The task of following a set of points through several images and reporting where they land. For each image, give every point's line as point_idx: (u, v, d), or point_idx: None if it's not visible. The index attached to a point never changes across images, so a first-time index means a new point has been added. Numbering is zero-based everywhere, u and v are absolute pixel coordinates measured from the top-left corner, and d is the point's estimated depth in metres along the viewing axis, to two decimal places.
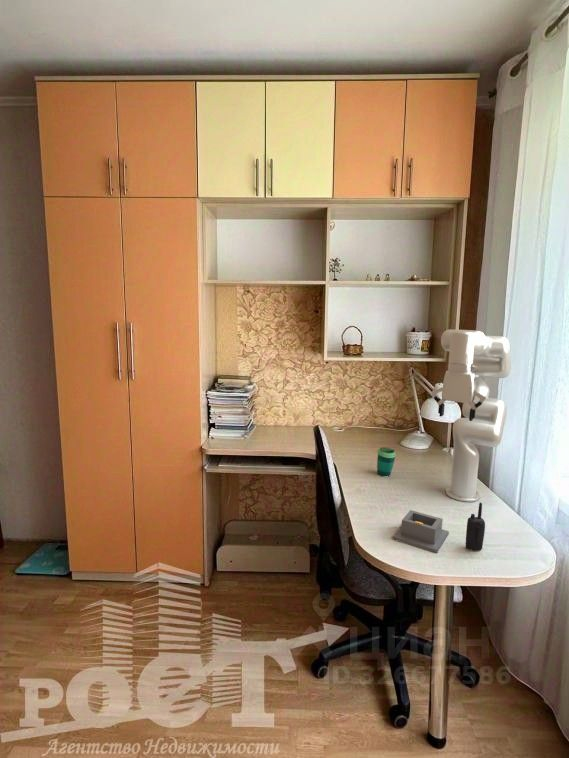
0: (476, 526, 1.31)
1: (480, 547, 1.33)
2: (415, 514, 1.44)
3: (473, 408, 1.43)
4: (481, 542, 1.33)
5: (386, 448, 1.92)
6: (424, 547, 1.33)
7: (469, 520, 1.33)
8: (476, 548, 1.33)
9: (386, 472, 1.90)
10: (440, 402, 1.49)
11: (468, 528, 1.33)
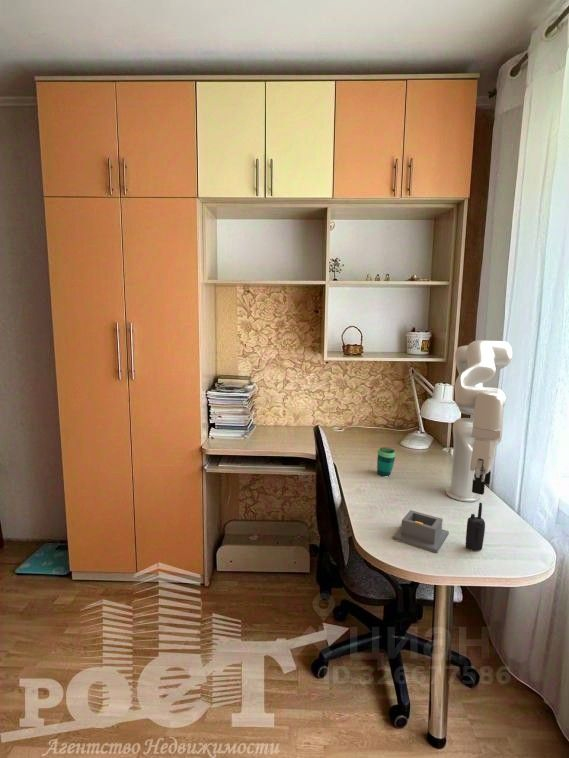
0: (476, 526, 1.31)
1: (480, 547, 1.33)
2: (415, 514, 1.44)
3: None
4: (481, 542, 1.33)
5: (386, 448, 1.92)
6: (424, 547, 1.33)
7: (469, 520, 1.33)
8: (476, 548, 1.33)
9: (386, 472, 1.90)
10: (483, 478, 1.25)
11: (468, 528, 1.33)
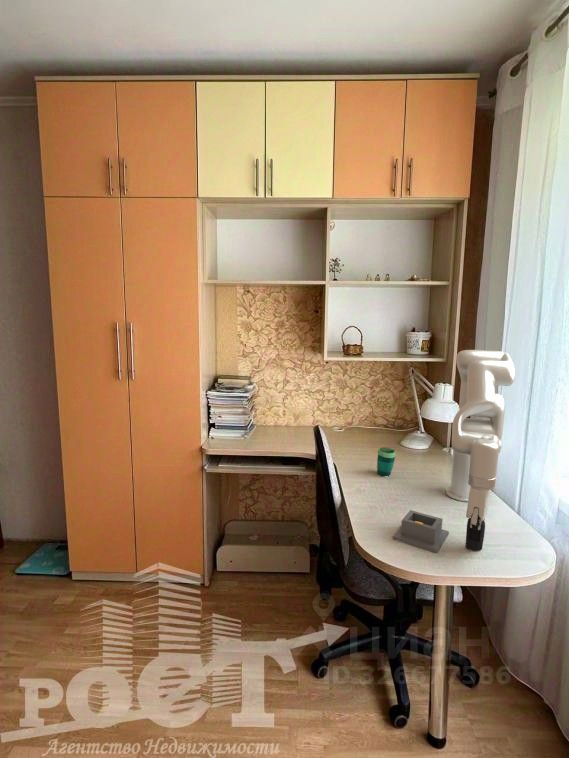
0: None
1: (480, 547, 1.33)
2: (415, 514, 1.44)
3: None
4: (481, 542, 1.33)
5: (386, 448, 1.92)
6: (424, 547, 1.33)
7: (469, 520, 1.32)
8: (476, 548, 1.33)
9: (386, 472, 1.90)
10: (480, 526, 1.29)
11: (468, 528, 1.32)
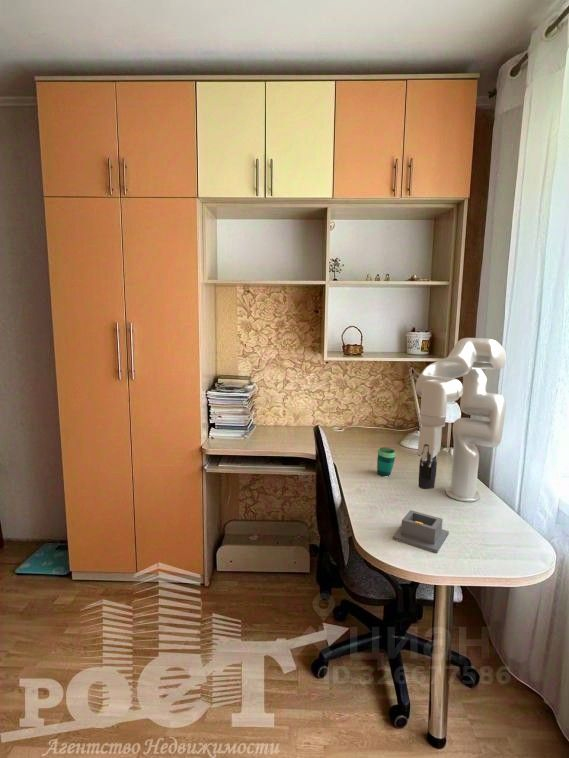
0: None
1: (432, 486, 1.37)
2: (415, 514, 1.44)
3: (436, 460, 1.39)
4: (433, 481, 1.37)
5: (386, 448, 1.92)
6: (424, 547, 1.33)
7: (421, 460, 1.36)
8: (428, 487, 1.36)
9: (386, 472, 1.90)
10: (431, 464, 1.33)
11: (420, 467, 1.36)
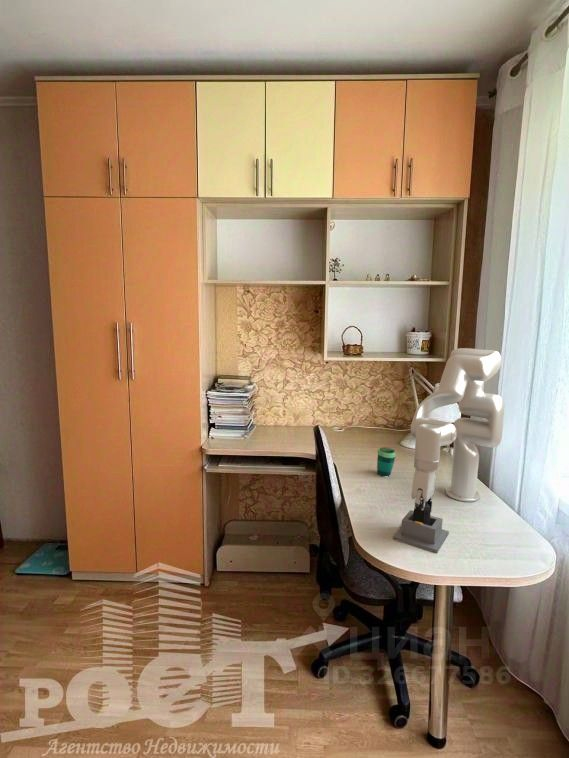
0: None
1: None
2: None
3: (431, 499, 1.42)
4: None
5: (386, 448, 1.92)
6: (424, 547, 1.33)
7: None
8: None
9: (386, 472, 1.90)
10: (423, 507, 1.35)
11: None
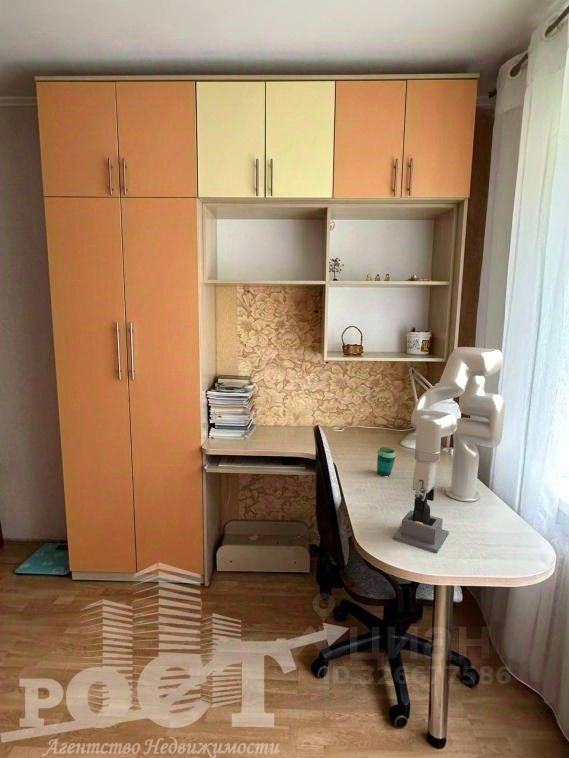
0: None
1: None
2: None
3: (433, 487, 1.43)
4: None
5: (386, 448, 1.92)
6: (424, 547, 1.33)
7: None
8: None
9: (386, 472, 1.90)
10: (424, 498, 1.34)
11: (414, 513, 1.39)
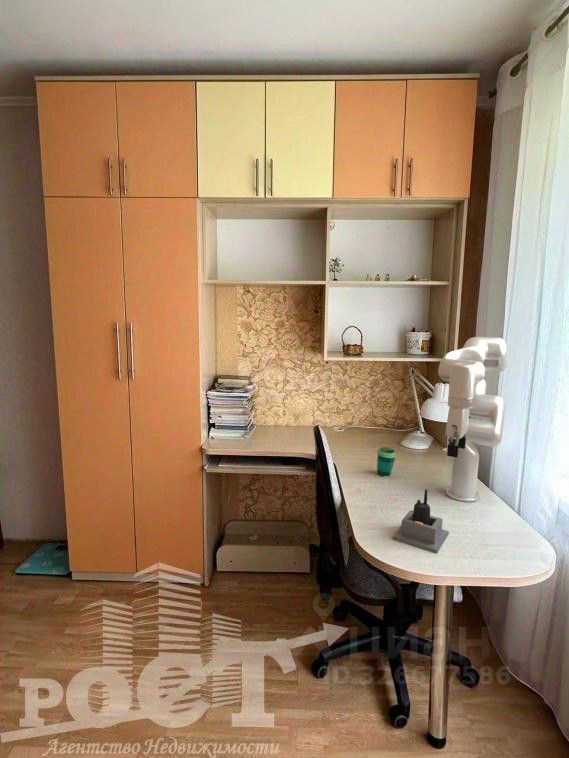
0: (421, 511, 1.38)
1: None
2: None
3: (465, 435, 1.46)
4: None
5: (386, 448, 1.92)
6: (424, 547, 1.33)
7: (415, 506, 1.39)
8: None
9: (386, 472, 1.90)
10: (457, 443, 1.37)
11: (414, 513, 1.39)
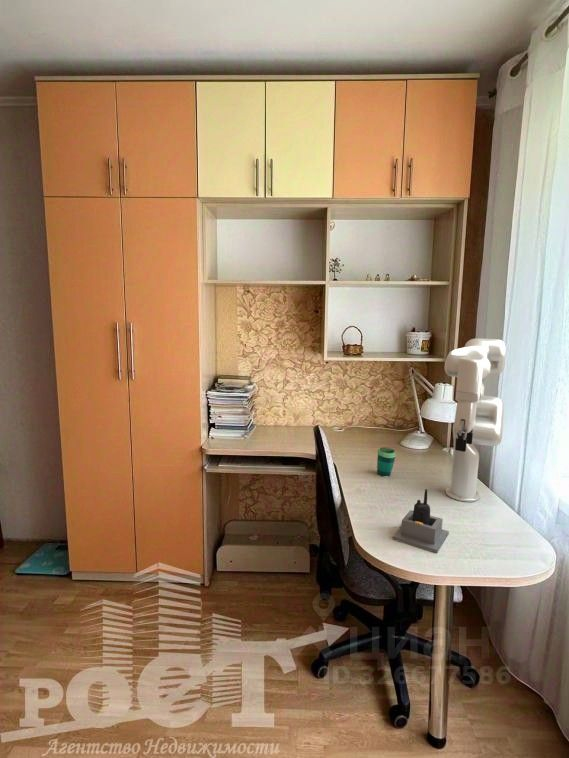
0: (421, 511, 1.38)
1: None
2: None
3: (472, 431, 1.47)
4: None
5: (386, 448, 1.92)
6: (424, 547, 1.33)
7: (415, 506, 1.39)
8: None
9: (386, 472, 1.90)
10: (465, 437, 1.38)
11: (414, 513, 1.39)
